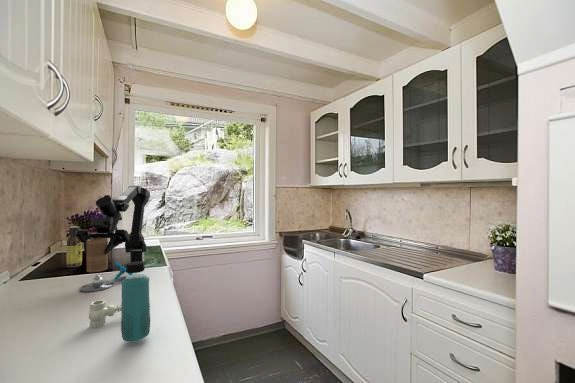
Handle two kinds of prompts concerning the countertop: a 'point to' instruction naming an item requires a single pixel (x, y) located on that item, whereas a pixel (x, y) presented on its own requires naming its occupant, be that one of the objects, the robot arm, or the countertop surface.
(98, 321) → the valve
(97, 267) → the sleeve
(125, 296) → the beverage bottle
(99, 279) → the hub
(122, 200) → the robot arm
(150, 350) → the countertop surface
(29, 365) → the countertop surface
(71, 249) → the sauce bottle
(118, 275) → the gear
